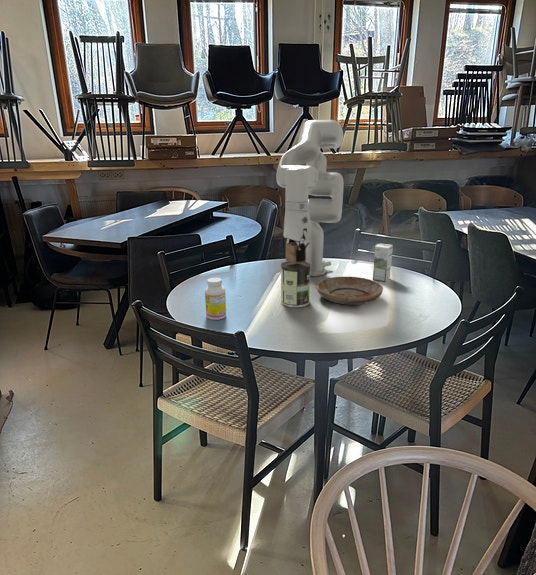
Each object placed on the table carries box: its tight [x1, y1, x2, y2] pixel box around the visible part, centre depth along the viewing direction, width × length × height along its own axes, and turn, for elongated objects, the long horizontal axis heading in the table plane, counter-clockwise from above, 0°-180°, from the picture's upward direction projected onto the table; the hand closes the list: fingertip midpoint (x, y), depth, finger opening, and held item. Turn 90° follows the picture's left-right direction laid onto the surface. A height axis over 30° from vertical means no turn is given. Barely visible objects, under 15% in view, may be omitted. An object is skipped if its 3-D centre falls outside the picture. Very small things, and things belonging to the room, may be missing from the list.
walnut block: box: [285, 241, 306, 264], centre depth 149 cm, size 5×5×6 cm
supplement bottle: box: [204, 277, 227, 321], centre depth 141 cm, size 7×7×13 cm
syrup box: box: [372, 243, 394, 283], centre depth 176 cm, size 6×6×14 cm
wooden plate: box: [316, 276, 384, 306], centre depth 157 cm, size 23×24×5 cm
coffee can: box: [280, 261, 311, 308], centre depth 152 cm, size 10×10×14 cm
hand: (295, 258), depth 149 cm, fingers closed on walnut block, 4 cm apart
